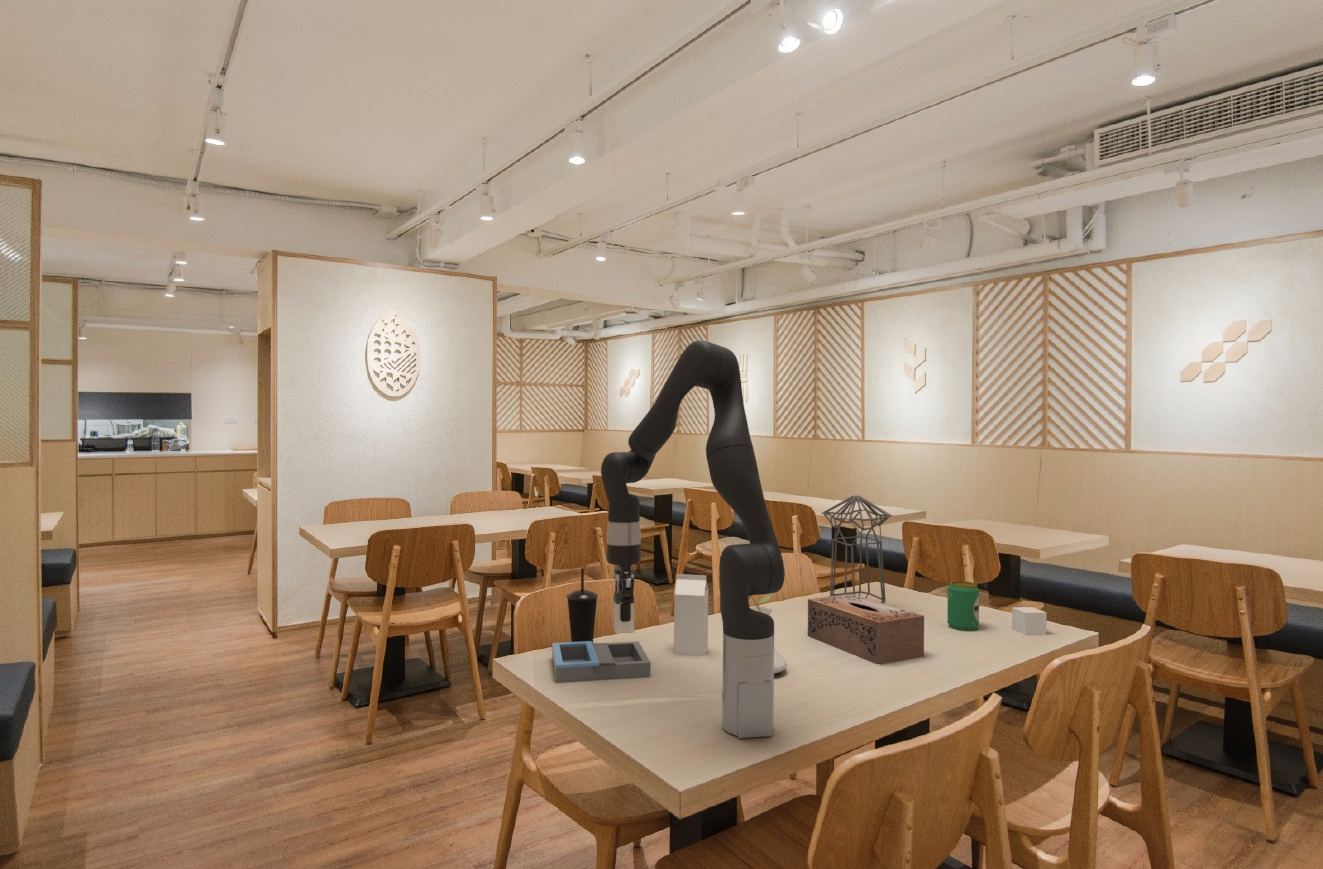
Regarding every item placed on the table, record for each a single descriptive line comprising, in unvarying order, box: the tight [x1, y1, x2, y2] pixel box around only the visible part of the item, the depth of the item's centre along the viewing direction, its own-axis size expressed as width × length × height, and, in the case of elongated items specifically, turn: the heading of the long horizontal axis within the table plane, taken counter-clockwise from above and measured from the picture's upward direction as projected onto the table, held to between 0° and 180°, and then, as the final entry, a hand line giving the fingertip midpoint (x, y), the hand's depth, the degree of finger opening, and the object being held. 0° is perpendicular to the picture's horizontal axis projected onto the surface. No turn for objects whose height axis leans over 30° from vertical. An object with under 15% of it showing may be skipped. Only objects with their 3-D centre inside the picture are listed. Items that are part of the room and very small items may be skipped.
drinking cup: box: [566, 568, 599, 644], centre depth 177 cm, size 8×8×20 cm
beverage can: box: [946, 580, 980, 632], centre depth 201 cm, size 8×8×12 cm
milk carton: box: [673, 573, 709, 656], centre depth 176 cm, size 7×7×19 cm
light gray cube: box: [1011, 606, 1047, 636], centre depth 197 cm, size 6×6×6 cm
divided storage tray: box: [551, 640, 652, 684], centre depth 162 cm, size 16×20×5 cm
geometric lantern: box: [821, 495, 893, 604], centre depth 214 cm, size 16×16×35 cm
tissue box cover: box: [807, 594, 925, 665], centre depth 183 cm, size 26×14×10 cm, turn 27°
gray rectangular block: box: [613, 592, 635, 635], centre depth 163 cm, size 4×4×8 cm
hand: (623, 618), depth 163 cm, fingers closed on gray rectangular block, 4 cm apart
